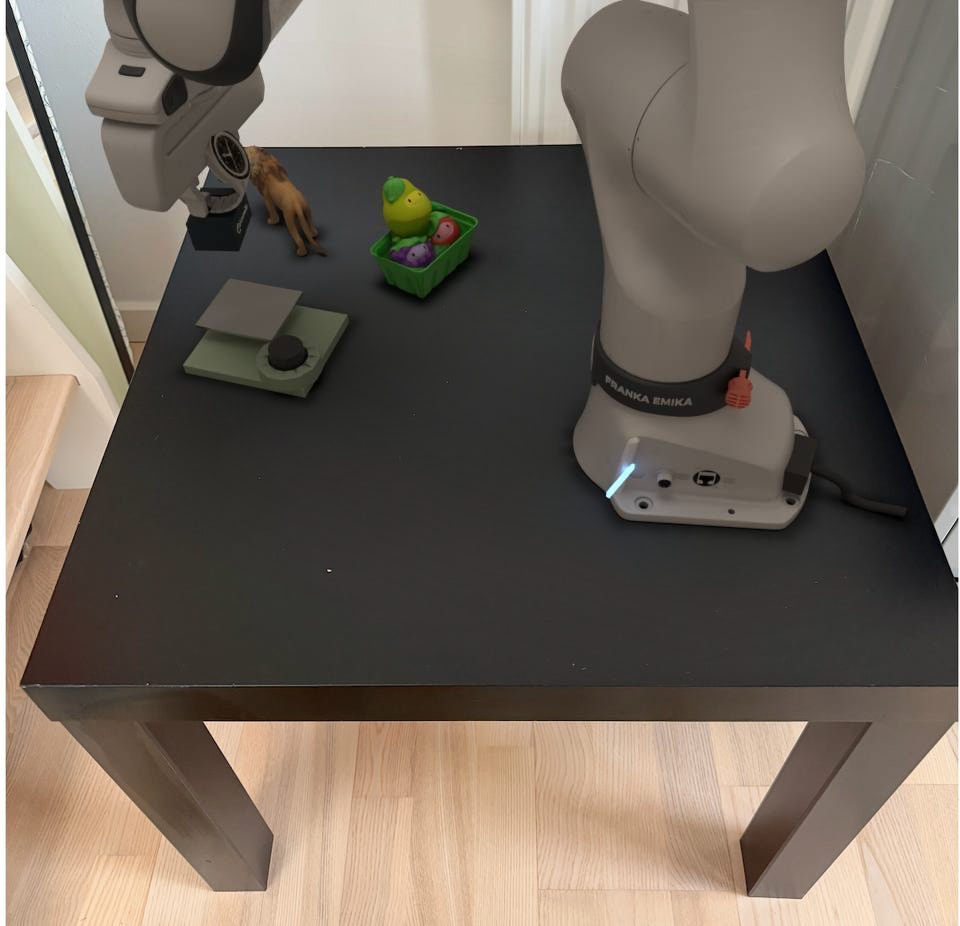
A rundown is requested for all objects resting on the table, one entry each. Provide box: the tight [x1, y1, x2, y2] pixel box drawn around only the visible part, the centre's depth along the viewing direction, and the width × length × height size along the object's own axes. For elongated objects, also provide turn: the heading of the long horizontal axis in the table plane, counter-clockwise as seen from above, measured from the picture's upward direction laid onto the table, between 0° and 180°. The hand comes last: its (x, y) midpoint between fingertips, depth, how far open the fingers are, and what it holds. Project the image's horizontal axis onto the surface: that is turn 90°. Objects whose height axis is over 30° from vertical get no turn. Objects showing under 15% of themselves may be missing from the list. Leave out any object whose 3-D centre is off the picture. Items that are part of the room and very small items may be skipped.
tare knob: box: [268, 335, 306, 371], centre depth 93 cm, size 4×4×2 cm
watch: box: [178, 131, 253, 253], centre depth 84 cm, size 6×8×11 cm
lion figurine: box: [244, 144, 328, 257], centre depth 109 cm, size 15×5×9 cm, turn 43°
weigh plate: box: [194, 277, 304, 342], centre depth 98 cm, size 9×8×1 cm
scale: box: [182, 304, 350, 398], centre depth 97 cm, size 15×13×3 cm
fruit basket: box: [369, 175, 479, 299], centre depth 102 cm, size 11×9×11 cm
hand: (216, 195), depth 85 cm, fingers closed on watch, 4 cm apart
